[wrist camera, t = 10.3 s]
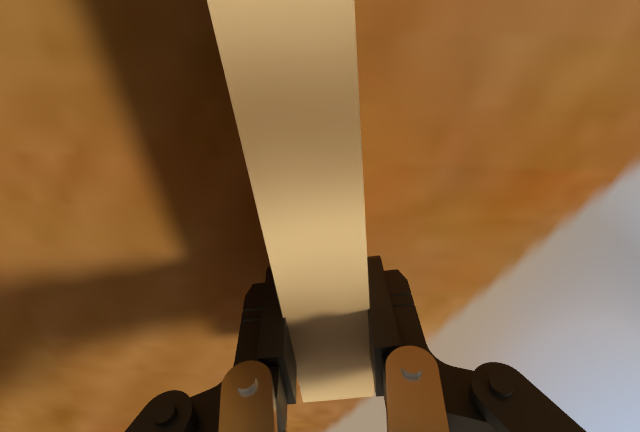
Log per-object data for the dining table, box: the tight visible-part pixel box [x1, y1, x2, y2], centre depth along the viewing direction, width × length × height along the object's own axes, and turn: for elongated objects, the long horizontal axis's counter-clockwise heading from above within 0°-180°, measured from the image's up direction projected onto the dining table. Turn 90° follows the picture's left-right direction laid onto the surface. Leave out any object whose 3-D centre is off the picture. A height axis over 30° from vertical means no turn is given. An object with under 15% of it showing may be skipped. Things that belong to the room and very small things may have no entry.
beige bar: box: [207, 0, 374, 402], centre depth 9 cm, size 21×7×4 cm, turn 6°
